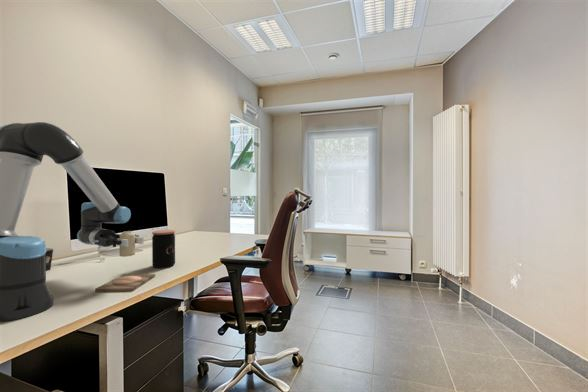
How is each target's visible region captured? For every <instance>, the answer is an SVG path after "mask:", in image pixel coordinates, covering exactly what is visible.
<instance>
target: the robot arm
mask: <svg viewBox="0 0 588 392" xmlns="http://www.w3.org/2000/svg"><path fill="white" fill-rule="evenodd" d="M84 153H85V152H84V150H83V149H82V147H81V146H80V145H79V143H78V142H77V141H76V140H75V139H74V138H72V136H71V135H70V134H68V133H67V132H66V131H64V130H63V129H62V128H61V127H59V126H57V125H54V124H53V123H50V122H49V123H48V122H45V121H44V122H43V121H38V122H37V121H36V122H26V123H24V122H23V123H21V122H16V123H15V122H13V123H9V124H5V125H2V126H0V322H6V321H13V320H19V319H23V318H27V317H30V316H34V315H36V314H37V315H38V314H40V313H42V312H44V311H46V310H48V309H50V308H51V307H53V306H54V297H53V295H52V294H51V291H50V288H49V286H48V284H47V271H46V248H47V247H46V242H45V240H44V238H41V237H39V236H32V235H26V236H25V235H18V234H17V233H16V232H15V230H16V227H17V225H18V224H17V223H18V221H19V217H20V214H21V210H22V208H23V205H24V200H25V197H26V194H27V191H28V188H29V185H30V183H31V182H30V181H31V178H32V175H33V171H34V168H35V167H37V166H39V165H41V164H42V162H43V161H42V160H43V158H44V156H47V157H49V158H50V159H51V160H52V161H53V162H54V163H55V164H57V165H61V166H62V168H63V169H64V170H65V171H66V173H67V174H68V175H69V176H70V177H71V179H72V180H73V181H74V182H75V184H77V185H78V187H79V188H80V189H81V190H82V192H83V193H84V194H85V195H86V197H87V198H88V199H89V200H90V201H89V202H83V203H82V204H81V207H80V208H81V210H80V215H81V216H80V217H81V218H80V221H81V226H80V230H78V232H77V234H76V238H77V240H78V241H79V242H81V243H82V244H85V245H94V246H98V247H99V248H100V247H105V248H107V247H108V248H109V247H111V246H112V248H116V247H117V246H119V247H120V246H125V247H128V239H120V234H121V233H119V234H118V233H116V232H115V231H114V230H112V229H106V228H102V226H103V225H102V224H126V223H128V222H129V220H130V219H131V215H132V213H131V210H130V208H128V207H127V206H121V205H120V203H119V202H118V201H117V199H115V197H114V196H113V194H112V193H111V191H110V190H109V189H108V188H107V186H106V185H105V183H104V182H103V180H101V178H100V177H99V175H98V174H97V173H96V171H95V170H94V168H93V167H92V166H91V164H90V163H89V161H88V160H87V159H86V158H85V156H84ZM134 234H135V244H137V245H144V237H142V236H140V235H138V234H136V233H134Z"/></svg>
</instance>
